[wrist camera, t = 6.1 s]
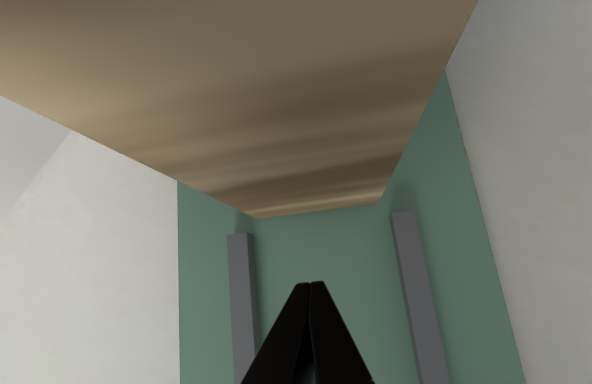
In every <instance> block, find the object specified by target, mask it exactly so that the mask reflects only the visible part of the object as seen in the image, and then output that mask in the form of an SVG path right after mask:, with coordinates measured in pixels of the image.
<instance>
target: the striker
mask: <svg viewBox="0 0 592 384" xmlns="http://www.w3.org/2000/svg"><path fill="white" fill-rule="evenodd" d="M477 1H478V0H0V95H1V96H3V97H5V98H7V99H9V100H11V101H13V102H16V103H18V104H20V105H22V106H24V107H26V108H28V109H30V110H32V111H34V112H36V113H38V114H40V115H42V116H44V117H47V118H49V119H51V120H53V121H55V122H57V123H59V124H61V125H63V126H65V127H67V128H69V129H71V130H73V131H76V132H78V133H80V134H82V135H84V136H86V137H88V138H90V139H92V140H94V141H96V142H98V143H100V144H103V145H105V146H107V147H109V148H111V149H113V150H115V151H117V152H119V153H121V154H123V155H125V156H127V157H130V158H132V159H134V160H136V161H138V162H140V163H142V164H144V165H146V166H148V167H150V168H152V169H154V170H157V171H159V172H161V173H163V174H165V175H167V176H169V177H171V178H173V179H175V180H177V181H179V182H181V183H184V184H186V185H188V186H190V187H192V188H194V189H196V190H198V191H200V192H202V193H204V194H206V195H208V196H211V197H213V198H215V199H217V200H219V201H221V202H223V203H225V204H227V205H229V206H231V207H233V208H235V209H238V210H240V211H242V212H244V213H246V214H248V215H250V216H252V217H254V218H256V219H261V218H268V217H276V216H283V215H290V214H298V213H305V212H313V211H320V210H327V209H335V208H342V207H349V206H357V205H364V204H371V203H379V201H380V199H381V197H382V195H383V192H384V190H385V188H386V186H387V184H388V182H389V180H390V178H391V176H392V174H393V172H394V170H395V168H396V166H397V164H398V162H399V160H400V158H401V156H402V154H403V152H404V150H405V148H406V146H407V144H408V141H409V139H410V137H411V135H412V133H413V131H414V129H415V127H416V125H417V123H418V121H419V119H420V117H421V115H422V113H423V111H424V109H425V107H426V105H427V103H428V101H429V99H430V97H431V95H432V93H433V91H434V88H435V86H436V84H437V82H438V80H439V78H440V76H441V74H442V72H443V70H444V68H445V66H446V64H447V62H448V60H449V58H450V56H451V54H452V52H453V50H454V48H455V46H456V44H457V42H458V40H459V37H460V35H461V33H462V31H463V29H464V27H465V25H466V23H467V21H468V19H469V17H470V15H471V13H472V11H473V9H474V7H475V5H476V3H477Z"/></svg>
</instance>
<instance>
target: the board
mask: <svg viewBox="0 0 592 384" xmlns="http://www.w3.org/2000/svg"><path fill="white" fill-rule="evenodd" d="M177 191H178V266H179V341H180V384H240V383H241V381H242V379H243V378H244V376H245V374H246V372H247V370H248V369H249V367H250V365H251V363H252V362H253V360H254V358H255V356H256V354H257V353H258V351H259V349H260V347H261V345H262V344H263V342H264V340H265V338H266V336H267V335H268V333H269V331H270V329H271V328H272V326H273V324H274V322H275V320H276V319H277V317H278V315H279V313H280V311H281V310H282V308H283V306H284V304H285V302H286V301H287V299H288V297H289V295H290V294H291V292H292V290H293V288H294V286H295V285H296V284H297V283H301V282H309V283H311V282H312V281H320V280H322V281H324V282H325V284H326V286H327V288H328V290H329V292H330V294H331V296H332V298H333V300H334V302H335V304H336V306H337V308H338V310H339V312H340V314H341V316H342V318H343V320H344V322H345V324H346V326H347V328H348V330H349V332H350V334H351V336H352V338H353V340H354V342H355V344H356V346H357V348H358V350H359V352H360V354H361V356H362V358H363V360H364V362H365V364H366V366H367V368H368V370H369V372H370V374H371V376H372V378H373V381H374V382H375V384H526V382H525V379H524V375H523V371H522V367H521V363H520V359H519V355H518V352H517V348H516V344H515V340H514V336H513V332H512V328H511V325H510V321H509V317H508V313H507V309H506V305H505V301H504V297H503V294H502V290H501V286H500V282H499V278H498V274H497V270H496V267H495V263H494V259H493V255H492V251H491V247H490V243H489V240H488V236H487V232H486V228H485V224H484V220H483V216H482V213H481V209H480V205H479V201H478V197H477V193H476V189H475V186H474V182H473V178H472V174H471V170H470V166H469V162H468V159H467V155H466V151H465V147H464V143H463V139H462V135H461V132H460V128H459V124H458V120H457V116H456V112H455V108H454V105H453V101H452V97H451V93H450V89H449V85H448V81H447V78H446V74H445V70H443V72H442V74H441V76H440V78H439V80H438V82H437V84H436V86H435V88H434V91H433V93H432V95H431V97H430V99H429V101H428V103H427V105H426V107H425V109H424V111H423V113H422V115H421V117H420V119H419V121H418V123H417V125H416V127H415V129H414V131H413V133H412V135H411V137H410V139H409V141H408V144H407V146H406V148H405V150H404V152H403V154H402V156H401V158H400V160H399V162H398V164H397V166H396V168H395V170H394V172H393V174H392V176H391V178H390V180H389V182H388V184H387V186H386V188H385V190H384V192H383V195H382V197H381V199H380V201H379V203H371V204H364V205H357V206H349V207H342V208H335V209H327V210H320V211H313V212H305V213H298V214H290V215H283V216H276V217H268V218H261V219H256V218H254V217H252V216H250V215H248V214H246V213H244V212H242V211H240V210H238V209H235V208H233V207H231V206H229V205H227V204H225V203H223V202H221V201H219V200H217V199H215V198H213V197H211V196H208V195H206V194H204V193H202V192H200V191H198V190H196V189H194V188H192V187H190V186H188V185H186V184H184V183H181V182H179V181H177Z"/></svg>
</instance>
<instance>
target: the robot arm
mask: <svg viewBox="0 0 592 384" xmlns="http://www.w3.org/2000/svg"><path fill="white" fill-rule="evenodd" d="M240 384H375V382H374V381H373V378H372V376H371V374H370V372H369V370H368V368H367V366H366V364H365V362H364V360H363V358H362V356H361V354H360V352H359V350H358V348H357V346H356V344H355V342H354V340H353V338H352V336H351V334H350V332H349V330H348V328H347V326H346V324H345V322H344V320H343V318H342V316H341V314H340V312H339V310H338V308H337V306H336V304H335V302H334V300H333V298H332V296H331V294H330V292H329V290H328V288H327V286H326V284H325V282H324V281H322V280H320V281H312V282H311V283H309V282H301V283H297V284H296V285H295V286H294V288H293V290H292V292H291V294H290V295H289V297H288V299H287V301H286V302H285V304H284V306H283V308H282V310H281V311H280V313H279V315H278V317H277V319H276V320H275V322H274V324H273V326H272V328H271V329H270V331H269V333H268V335H267V336H266V338H265V340H264V342H263V344H262V345H261V347H260V349H259V351H258V353H257V354H256V356H255V358H254V360H253V362H252V363H251V365H250V367H249V369H248V370H247V372H246V374H245V376H244V378H243V379H242V381H241V383H240Z"/></svg>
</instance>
